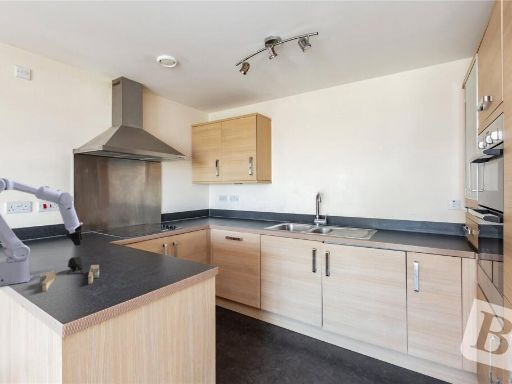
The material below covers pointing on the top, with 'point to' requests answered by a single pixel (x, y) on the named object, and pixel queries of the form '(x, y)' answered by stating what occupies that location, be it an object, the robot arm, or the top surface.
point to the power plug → (75, 263)
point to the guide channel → (48, 278)
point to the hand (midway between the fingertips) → (78, 242)
